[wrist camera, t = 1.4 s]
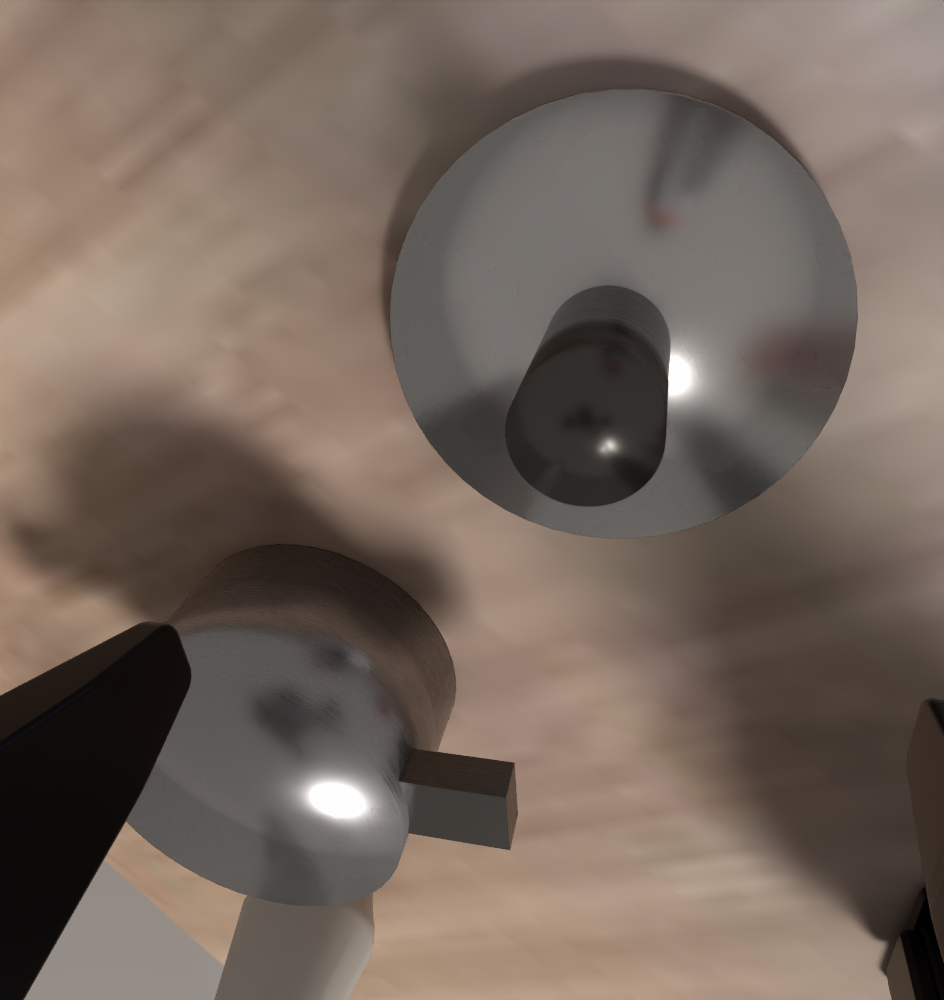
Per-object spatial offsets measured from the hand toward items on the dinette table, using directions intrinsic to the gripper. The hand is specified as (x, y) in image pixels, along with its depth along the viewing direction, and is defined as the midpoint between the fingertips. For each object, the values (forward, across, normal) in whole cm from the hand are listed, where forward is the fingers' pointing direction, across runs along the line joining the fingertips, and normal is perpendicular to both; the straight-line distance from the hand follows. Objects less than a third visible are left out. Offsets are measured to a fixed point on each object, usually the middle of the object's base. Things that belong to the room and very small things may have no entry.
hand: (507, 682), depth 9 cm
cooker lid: (+12, 0, 0) cm, 12 cm away
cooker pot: (+12, +10, +12) cm, 19 cm away
